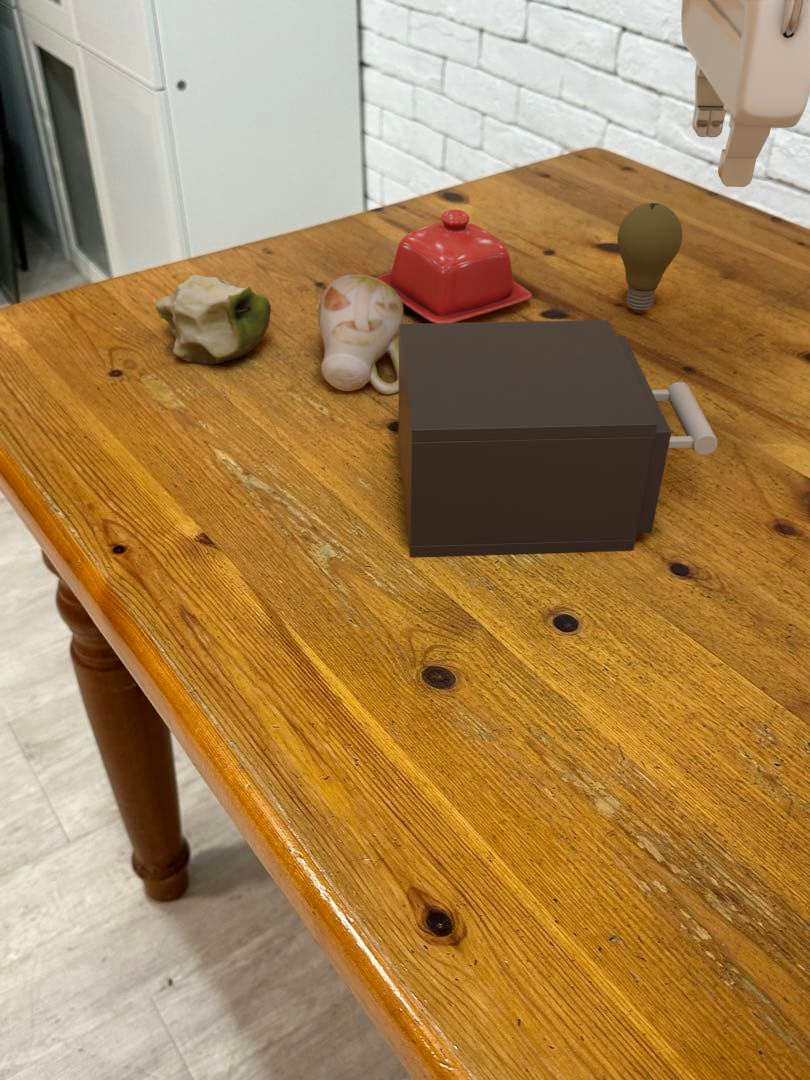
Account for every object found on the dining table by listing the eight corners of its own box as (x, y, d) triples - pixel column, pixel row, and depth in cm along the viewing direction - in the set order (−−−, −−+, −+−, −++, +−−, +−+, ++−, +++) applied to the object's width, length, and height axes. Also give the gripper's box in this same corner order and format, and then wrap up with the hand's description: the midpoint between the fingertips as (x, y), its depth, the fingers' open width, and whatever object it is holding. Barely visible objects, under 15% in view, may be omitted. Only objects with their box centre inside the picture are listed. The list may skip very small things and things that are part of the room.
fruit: (286, 375, 89) (275, 298, 83) (178, 398, 88) (159, 322, 81) (263, 310, 95) (252, 234, 89) (161, 331, 93) (142, 255, 87)
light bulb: (607, 295, 99) (621, 191, 93) (666, 299, 99) (685, 195, 92) (607, 322, 95) (623, 214, 89) (670, 326, 94) (690, 218, 88)
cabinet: (591, 437, 80) (608, 319, 74) (633, 550, 69) (657, 423, 63) (398, 441, 79) (399, 323, 73) (410, 557, 68) (412, 429, 62)
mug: (300, 403, 84) (285, 276, 82) (344, 398, 93) (331, 283, 91) (389, 394, 81) (374, 263, 80) (424, 389, 90) (412, 271, 89)
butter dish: (538, 308, 97) (547, 218, 92) (437, 340, 92) (440, 247, 87) (464, 265, 104) (468, 180, 99) (367, 292, 99) (365, 204, 94)
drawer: (666, 429, 79) (685, 334, 74) (715, 531, 69) (740, 429, 64) (430, 434, 78) (433, 339, 73) (446, 539, 68) (450, 436, 63)
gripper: (878, -59, 51) (808, 219, 59) (780, -113, 67) (737, 111, 75) (747, -61, 51) (696, 216, 60) (681, -115, 67) (648, 110, 76)
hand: (718, 157), depth 68 cm, fingers open, 8 cm apart
